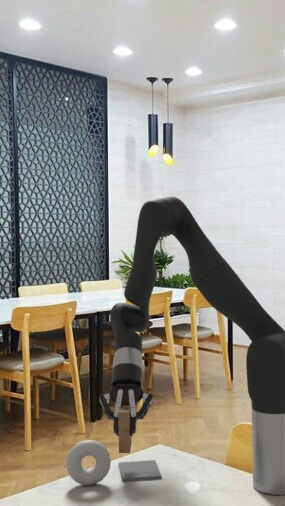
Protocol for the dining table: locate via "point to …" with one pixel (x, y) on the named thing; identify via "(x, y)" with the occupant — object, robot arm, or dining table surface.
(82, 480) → the donut
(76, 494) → the dining table surface
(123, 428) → the walnut slab
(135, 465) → the rubber mat
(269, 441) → the robot arm
